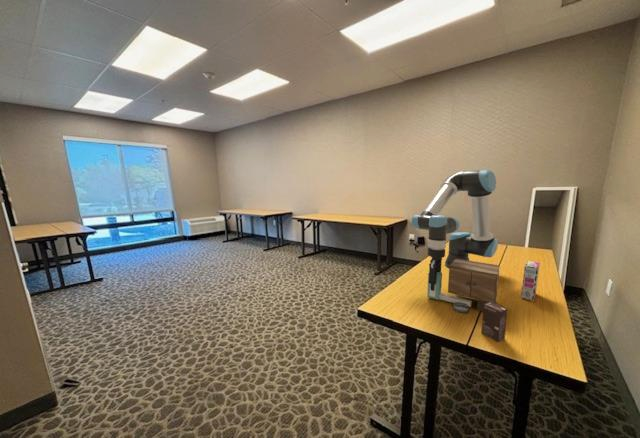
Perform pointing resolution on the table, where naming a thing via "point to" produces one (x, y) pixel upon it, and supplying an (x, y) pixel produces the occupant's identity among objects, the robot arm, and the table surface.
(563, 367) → the table surface
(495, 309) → the box
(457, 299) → the tool
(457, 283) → the wooden cabinet
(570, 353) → the table surface
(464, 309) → the disc
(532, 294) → the candy bar box
